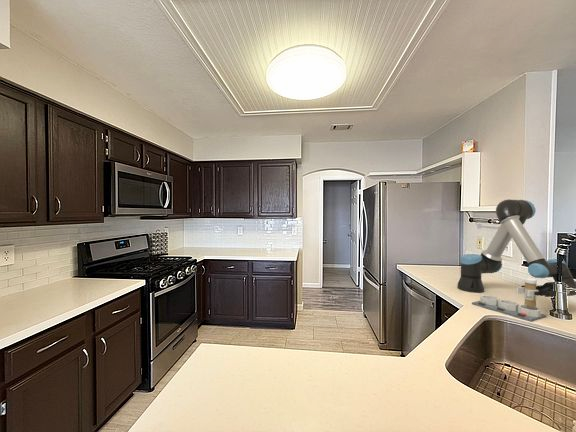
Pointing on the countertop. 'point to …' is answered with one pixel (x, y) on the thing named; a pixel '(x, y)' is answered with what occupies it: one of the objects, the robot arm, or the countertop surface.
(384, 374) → the countertop surface
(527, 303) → the sprinkles bottle
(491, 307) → the breaker board
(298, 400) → the countertop surface
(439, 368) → the countertop surface
